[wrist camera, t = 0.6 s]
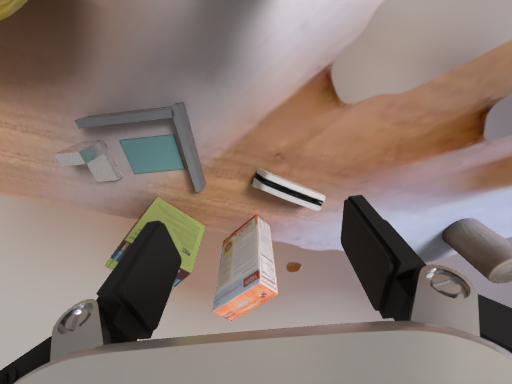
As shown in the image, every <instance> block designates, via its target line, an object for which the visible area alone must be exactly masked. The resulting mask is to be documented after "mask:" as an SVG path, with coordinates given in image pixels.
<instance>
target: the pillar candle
mask: <svg viewBox="0 0 512 384" xmlns="http://www.w3.org/2000/svg"><path fill="white" fill-rule="evenodd" d="M443 240H444V241H445V242H447V243H448V244H449V245H450V246H451V247H452V248H453V249H454V250H456V251H457V252H458V253H459V254H460V255H461V256H462V257H464V258H465V259H466V260H467V261H468V262H469V263H470V264H471V265H472V266H474V267H475V268H476V269H477V270H478V271H479V272H480V273H481V274H483V275H484V276H485V277H486V278H487V279H488V280H490V281H491V282H493V283H507V282H511V281H512V243H510V242H509V241H507V240H506V239H504V238H503V237H501V236H500V235H498V234H497V233H495V232H494V231H492V230H491V229H489V228H488V227H486V226H485V225H483V224H482V223H480V222H479V221H477V220H475V219H463V220H460V221H457V222H455V223H454V224H452V225H451V226H449V227H448V228H447V229H446V231H445V232H444V234H443Z"/></svg>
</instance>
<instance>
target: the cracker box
mask: <svg viewBox="0 0 512 384" xmlns="http://www.w3.org/2000/svg"><path fill="white" fill-rule="evenodd" d="M277 295H278V288H277V281H276V272H275V263H274V255H273V247H272V239H271V230H270V225H269V224H267V223H266V222H265V221H264V220H262V219H261V218H260V217H259V216H258V215H256V216H254V217H253V218H252V219H251V220H249V221H248V222H247V223H246V224H244V225H243V226H242V227H241V228H239V229H238V230H237V231H235V232H234V233H233V234H232V235H230V236H229V237H228V238H227V239H225V240H224V243H223V248H222V255H221V262H220V267H219V274H218V280H217V286H216V292H215V299H214V306H213V312H214V313H216V314H218V315H220V316H222V317H225V318H227V319H228V320H231V321H232V320H234V319H236V318H238V317H239V316H241V315H243V314H245V313H246V312H248V311H250V310H252V309H254V308H255V307H257V306H259V305H261V304H263V303H264V302H266V301H268V300H270V299H272V298H273V297H275V296H277Z"/></svg>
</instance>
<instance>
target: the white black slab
mask: <svg viewBox="0 0 512 384" xmlns="http://www.w3.org/2000/svg"><path fill="white" fill-rule="evenodd" d="M256 173H257V175H258V176H259V177H261V178H259V177H256V178H254V180H253V184H252V185H251V186H252V187H254V188H257V189H260V190H262V191H265V192H268V193H270V194H273V195H275V196H278V197H280V198H283V199H285V200H288V201H290V202H293V203H296V204H299V205H301V206H304V207H307V208H310V209H314V210H317V211H319V210H320V209H321V208H322V206H321V205H322V204H321V203H319V202H322V203H323V201H325V198H326V196H325V195H323V194H321V193H319V192H318V191H315V190H313V189H310V188H308V187H305V186H303V185H300V184H298V183H295V182H293V181H290V180H287V179H285V178H282V177H280V176H277V175H275V174H272V173H270V172H267V171H265V170H262V169H260V168H259V169H258V170H257V172H256ZM263 179H264V180H263ZM280 187H282V188H284V189H287V190H289V191H287V190H284V189H282V188H280ZM290 191H291V192H290ZM318 201H319V202H318Z"/></svg>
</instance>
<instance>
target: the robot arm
mask: <svg viewBox="0 0 512 384" xmlns="http://www.w3.org/2000/svg"><path fill="white" fill-rule="evenodd" d="M341 244H342V247H343V249H344V251H345V253H346V255H347V256H348V258H349V260H350V262H351V264H352V266H353V268H354V270H355V272H356V274H357V276H358V278H359V280H360V282H361V284H362V286H363V288H364V290H365V292H366V294H367V296H368V298H369V300H370V302H371V304H372V306H373V308H374V309H375V310H376V311H378V310H379V312H380V314H381V316H382V318H383V319H385V318H393V319H394V320H395V321H379V322H363V323H362V322H361V323H345V324H331V325H318V326H307V327H293V328H281V329H268V330H256V331H245V332H233V333H221V334H209V335H198V336H187V337H176V338H165V339H153V340H143V341H137V339H149V338H151V336H152V333H153V330H155V329H156V328H157V326H158V324H159V321H160V319H161V316H162V314H163V311H164V308H165V306H166V303H167V300H168V298H169V295H170V292H171V290H172V287H173V284H174V282H175V279H176V276H177V274H178V271H179V269H180V266H181V262H182V259H181V256H180V254H179V252H178V250H177V248H176V246H175V244H174V242H173V240H172V238H171V236H170V234H169V232H168V229H167V227H166V225H165V224H164V223H162V222H161V221H151V222H147V223H146V224H145V226H144V227H143V229H142V230H141V231H140V233H139V234H138V236H137V237H136V238H135V240H134V241H133V243H132V244H131V246H130V247H129V248H128V250H127V251H126V253H125V254H124V255H123V257H122V258H121V260H120V261H119V262H118V264H117V265H116V267H115V268H114V269H113V271H112V273H111V274H110V275H109V277H108V278H107V280H106V281H105V282H104V284H103V285H102V286H101V288H100V289H99V291H98V292H97V295H98V296H99V297H98V298H97V300H94V299H87V300H84V301H81V302H79V303H77V304H75V305H74V306H72V307H71V308H70V309H69V310H67V311H66V312H65V313H64V314H63V315H62V316H61V317H60V318H59V320H58V321H57V322H56V324H55V326H54V328H53V331H52V336H51V337H49V338H48V339H46V340H45V341H43V342H42V343H40V344H39V345H37V346H36V347H34V348H33V349H31V350H30V351H29V352H27V353H26V354H24V355H23V356H21V357H20V358H19V359H17V360H15V361H14V362H12V363H11V364H9V365H8V366H6V367H5V368H3V369H2V370H0V384H512V308H510V307H507V306H505V305H503V304H500V303H498V302H496V301H493V300H491V299H488V298H486V297H484V296H481V295H479V294H478V293H477V290H476V288H475V286H474V285H473V284H472V282H471V281H470V280H469V279H467V278H466V277H465V276H464V275H462V274H461V273H459V272H457V271H456V270H453V269H451V268H449V267H445V266H441V265H426V264H425V263H424V262H423V261H422V260H421V258H420V257H419V256H418V255H417V254H416V253H415V252H414V251H413V249H412V248H411V247H410V246H409V245H408V244H407V243H406V242H405V240H404V239H403V238H402V237H401V236H400V235H399V234H398V233H397V231H396V230H395V229H394V228H393V227H392V226H391V225H390V224H389V222H387V221H386V220H384V219H382V217H381V216H380V215H379V214H378V213H377V212H376V211H375V209H374V208H373V207H372V206H371V205H370V204H369V203H368V201H367V200H366V199H365V198H364V197H363V196H362V195H357V196H349V197H348V200H345V201H344V210H343V221H342V232H341Z"/></svg>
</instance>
